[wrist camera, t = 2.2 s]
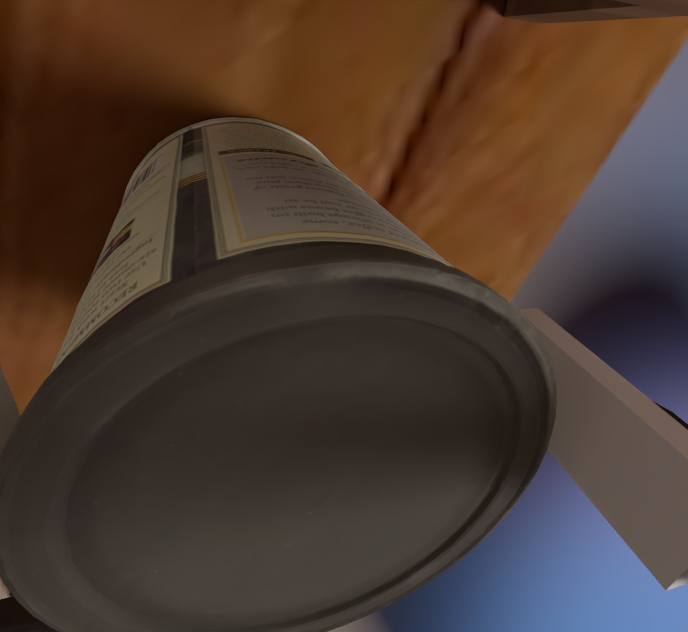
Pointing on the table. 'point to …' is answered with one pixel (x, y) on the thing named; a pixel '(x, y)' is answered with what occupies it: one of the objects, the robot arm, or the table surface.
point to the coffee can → (265, 406)
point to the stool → (592, 9)
